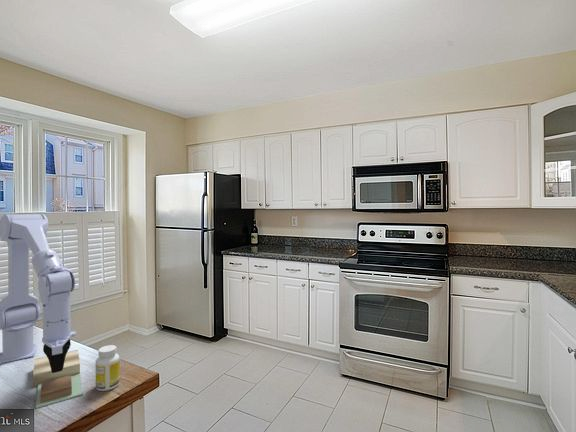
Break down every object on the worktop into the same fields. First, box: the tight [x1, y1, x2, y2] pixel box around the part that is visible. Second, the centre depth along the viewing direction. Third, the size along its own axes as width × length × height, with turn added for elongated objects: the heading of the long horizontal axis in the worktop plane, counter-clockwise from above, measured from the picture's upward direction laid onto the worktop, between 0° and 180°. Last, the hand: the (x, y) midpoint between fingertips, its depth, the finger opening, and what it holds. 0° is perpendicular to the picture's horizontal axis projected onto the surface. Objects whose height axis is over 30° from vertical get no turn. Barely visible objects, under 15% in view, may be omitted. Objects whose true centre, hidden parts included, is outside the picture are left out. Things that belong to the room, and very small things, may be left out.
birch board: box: [32, 349, 81, 387], centre depth 87 cm, size 10×10×3 cm
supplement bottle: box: [94, 344, 121, 392], centre depth 81 cm, size 5×5×10 cm
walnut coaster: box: [40, 375, 72, 403], centre depth 77 cm, size 6×6×2 cm
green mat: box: [35, 373, 84, 409], centre depth 79 cm, size 11×9×1 cm
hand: (57, 370), depth 81 cm, fingers closed
